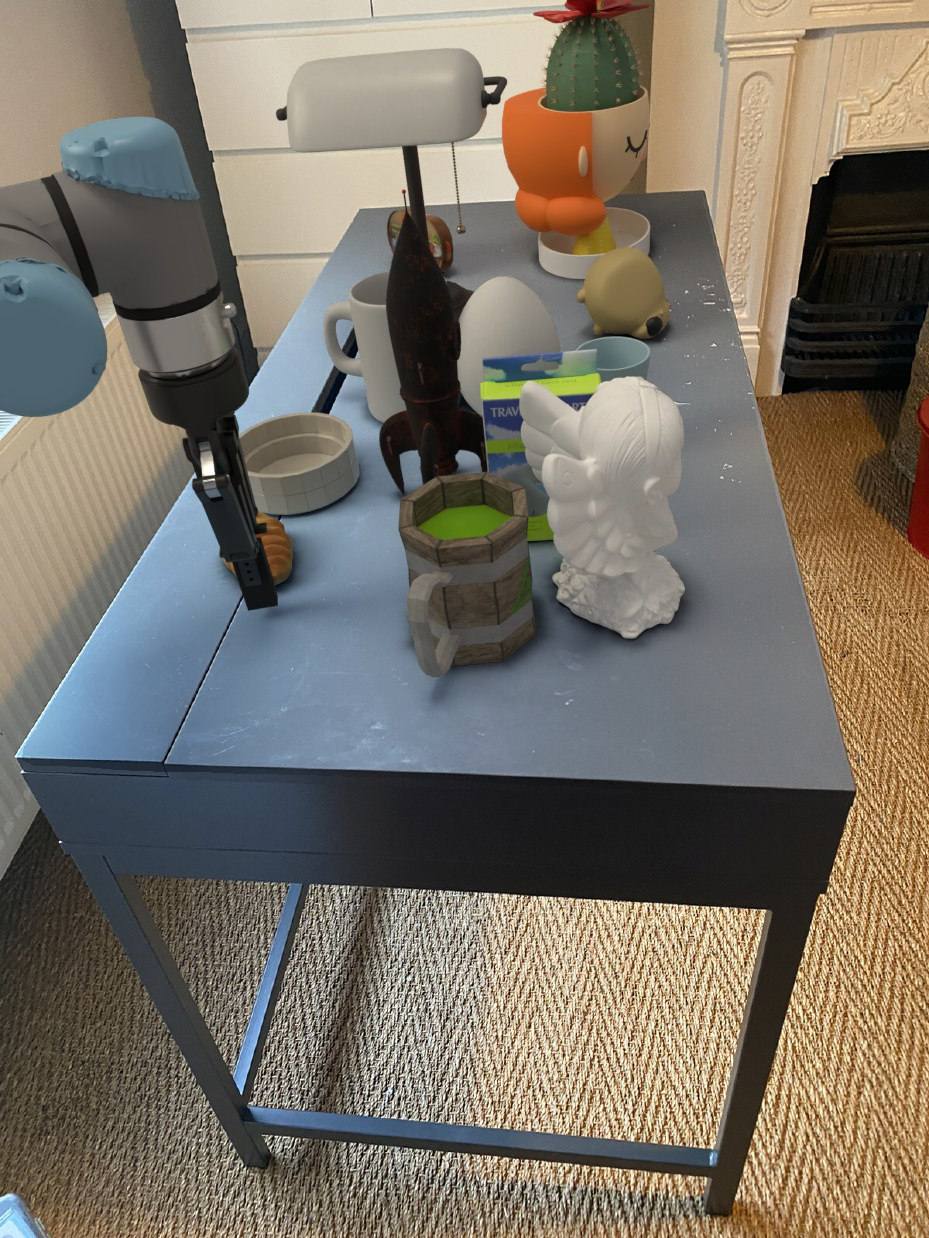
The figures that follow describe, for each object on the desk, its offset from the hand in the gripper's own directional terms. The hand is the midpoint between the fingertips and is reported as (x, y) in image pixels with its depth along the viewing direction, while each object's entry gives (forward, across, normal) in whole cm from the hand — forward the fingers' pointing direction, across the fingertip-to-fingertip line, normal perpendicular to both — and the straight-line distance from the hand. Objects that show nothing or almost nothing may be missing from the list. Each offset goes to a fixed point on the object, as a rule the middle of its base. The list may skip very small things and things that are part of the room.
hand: (263, 603), depth 83 cm
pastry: (+1, +8, 0) cm, 8 cm away
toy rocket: (+1, +14, -18) cm, 23 cm away
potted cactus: (+1, +76, -48) cm, 90 cm away
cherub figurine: (+1, -7, -30) cm, 31 cm away
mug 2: (+1, -9, -17) cm, 19 cm away
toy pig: (+1, +46, -47) cm, 66 cm away
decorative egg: (+1, +31, -29) cm, 42 cm away
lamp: (+1, +57, -22) cm, 61 cm away
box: (+1, +5, -27) cm, 28 cm away
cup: (+1, +19, -37) cm, 42 cm away
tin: (+1, +80, -24) cm, 84 cm away
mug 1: (+1, +36, -16) cm, 40 cm away
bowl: (+1, +22, -4) cm, 22 cm away
